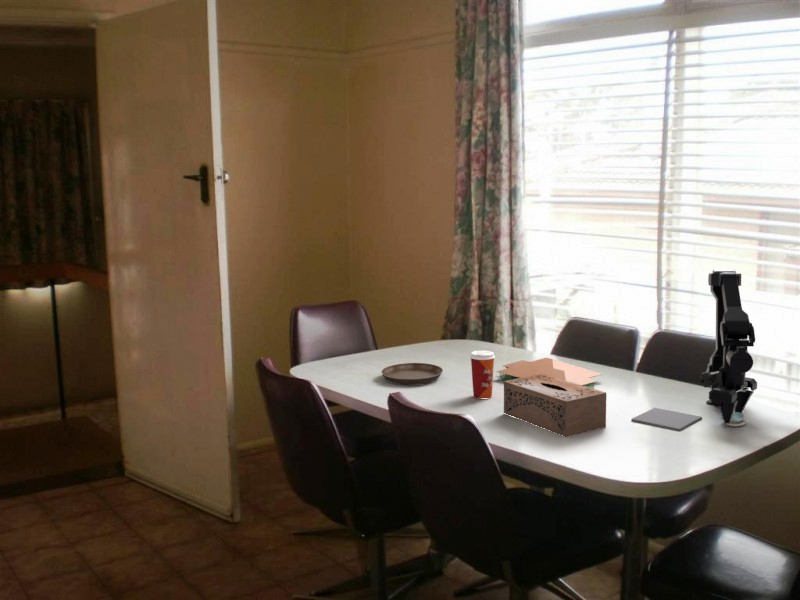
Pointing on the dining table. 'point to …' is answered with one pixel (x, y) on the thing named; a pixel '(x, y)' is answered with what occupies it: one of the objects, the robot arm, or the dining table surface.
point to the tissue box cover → (555, 404)
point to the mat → (666, 419)
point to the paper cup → (482, 373)
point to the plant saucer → (412, 373)
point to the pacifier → (736, 419)
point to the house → (550, 371)
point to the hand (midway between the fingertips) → (732, 419)
